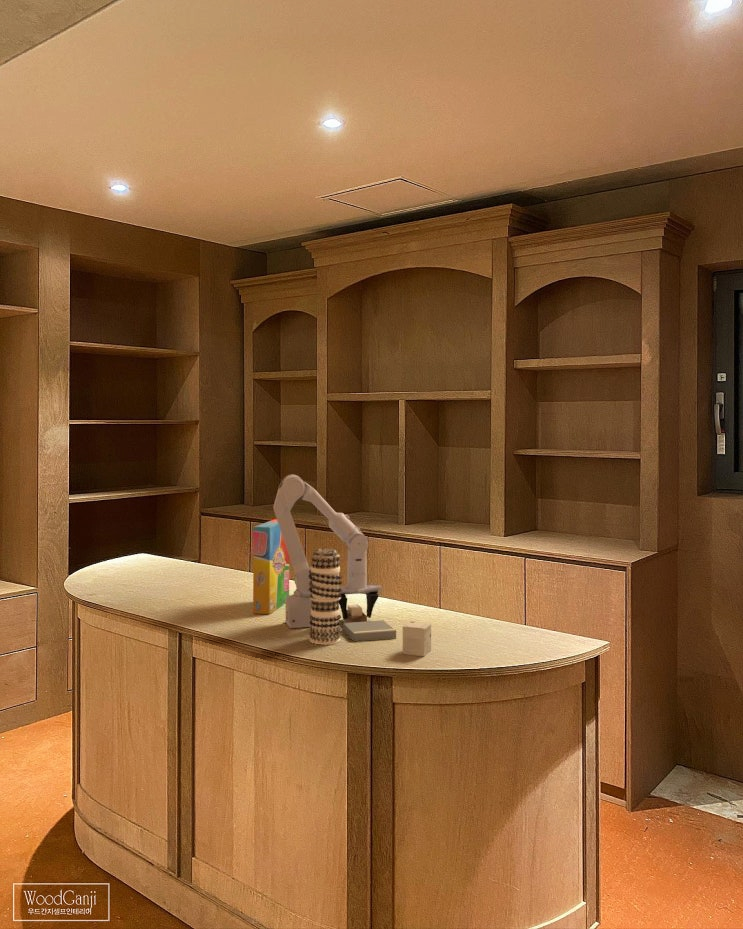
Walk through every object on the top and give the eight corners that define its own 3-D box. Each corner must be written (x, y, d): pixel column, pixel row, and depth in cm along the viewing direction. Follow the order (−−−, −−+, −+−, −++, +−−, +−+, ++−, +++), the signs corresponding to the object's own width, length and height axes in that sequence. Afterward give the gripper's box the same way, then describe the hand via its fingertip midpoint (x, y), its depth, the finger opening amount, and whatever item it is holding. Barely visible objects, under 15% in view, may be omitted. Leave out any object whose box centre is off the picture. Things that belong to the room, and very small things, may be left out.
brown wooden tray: (350, 628, 234) (350, 617, 234) (342, 621, 243) (342, 609, 243) (366, 627, 235) (366, 616, 235) (358, 619, 244) (359, 608, 244)
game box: (269, 615, 247) (269, 527, 246) (252, 614, 248) (252, 526, 247) (289, 600, 268) (289, 518, 266) (273, 599, 269) (273, 518, 267)
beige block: (351, 619, 236) (351, 609, 236) (347, 615, 241) (347, 605, 241) (362, 618, 237) (362, 608, 237) (357, 614, 242) (357, 604, 242)
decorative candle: (301, 640, 220) (301, 549, 218) (326, 634, 226) (327, 546, 225) (323, 647, 213) (323, 554, 212) (348, 640, 220) (349, 550, 218)
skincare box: (424, 657, 206) (424, 628, 205) (401, 654, 208) (402, 626, 208) (431, 650, 211) (431, 622, 211) (409, 648, 214) (409, 620, 213)
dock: (354, 641, 219) (354, 632, 219) (343, 629, 231) (343, 622, 231) (396, 638, 223) (396, 629, 223) (383, 627, 234) (383, 619, 234)
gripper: (336, 576, 232) (336, 622, 233) (384, 573, 237) (384, 619, 237) (330, 571, 239) (330, 616, 240) (377, 569, 243) (377, 613, 244)
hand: (356, 617), depth 239 cm, fingers open, 7 cm apart
